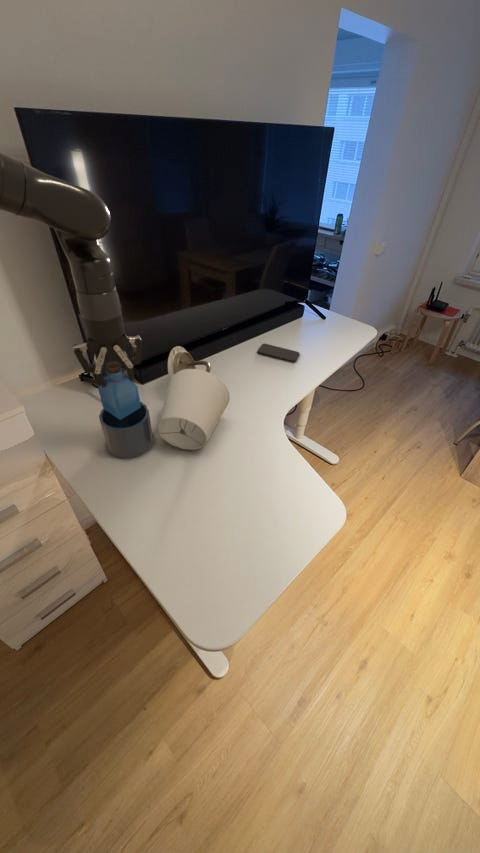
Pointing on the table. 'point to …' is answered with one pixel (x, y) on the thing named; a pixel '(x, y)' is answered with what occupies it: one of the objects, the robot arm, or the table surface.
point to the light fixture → (191, 402)
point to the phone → (278, 352)
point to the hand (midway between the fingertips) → (116, 382)
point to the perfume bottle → (119, 392)
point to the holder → (127, 433)
